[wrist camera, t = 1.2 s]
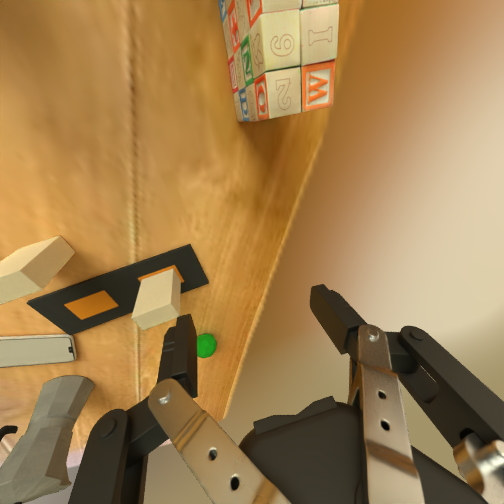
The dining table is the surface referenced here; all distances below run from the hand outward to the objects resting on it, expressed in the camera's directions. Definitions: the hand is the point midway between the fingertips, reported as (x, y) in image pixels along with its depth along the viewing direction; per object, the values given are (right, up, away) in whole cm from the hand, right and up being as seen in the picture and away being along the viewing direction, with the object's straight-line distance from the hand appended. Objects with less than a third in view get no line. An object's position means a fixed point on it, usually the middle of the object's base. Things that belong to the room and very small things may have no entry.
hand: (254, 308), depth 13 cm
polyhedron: (-11, -16, +34) cm, 39 cm away
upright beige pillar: (-16, -1, +22) cm, 27 cm away
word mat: (-22, -3, +22) cm, 31 cm away
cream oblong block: (-29, +4, +15) cm, 33 cm away
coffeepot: (-40, -25, +29) cm, 55 cm away
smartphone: (-40, -13, +22) cm, 48 cm away
